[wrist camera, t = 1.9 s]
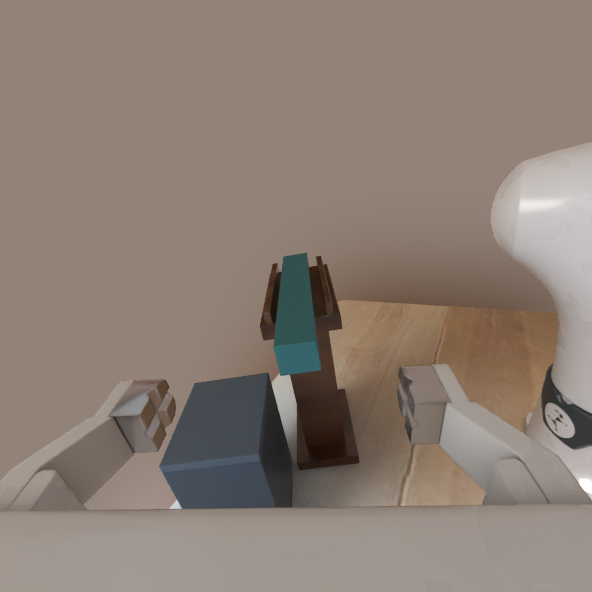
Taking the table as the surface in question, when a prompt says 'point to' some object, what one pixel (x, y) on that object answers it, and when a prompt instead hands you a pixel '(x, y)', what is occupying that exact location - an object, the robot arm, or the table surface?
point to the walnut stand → (317, 380)
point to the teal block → (296, 319)
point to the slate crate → (230, 448)
